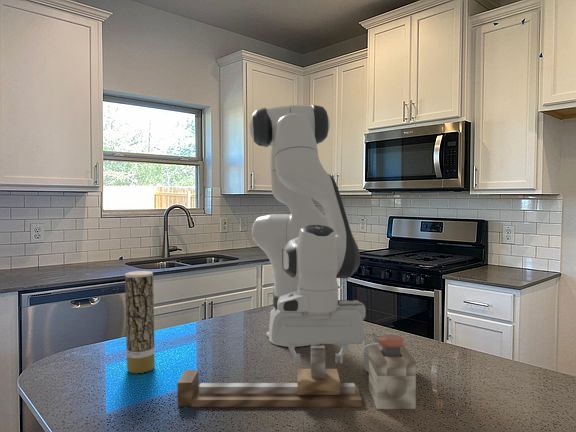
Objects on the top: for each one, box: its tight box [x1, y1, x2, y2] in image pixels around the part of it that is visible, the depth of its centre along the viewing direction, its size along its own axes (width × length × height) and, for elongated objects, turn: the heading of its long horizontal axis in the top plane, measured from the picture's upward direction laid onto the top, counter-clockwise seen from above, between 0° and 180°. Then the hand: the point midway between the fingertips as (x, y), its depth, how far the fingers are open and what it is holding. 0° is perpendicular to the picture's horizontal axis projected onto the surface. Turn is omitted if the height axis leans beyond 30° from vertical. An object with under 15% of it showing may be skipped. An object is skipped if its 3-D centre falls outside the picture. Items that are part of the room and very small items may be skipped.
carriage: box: [296, 345, 341, 395], centre depth 98 cm, size 9×7×9 cm
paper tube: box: [124, 270, 156, 374], centre depth 114 cm, size 7×7×25 cm
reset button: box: [378, 334, 405, 357], centre depth 97 cm, size 5×5×4 cm
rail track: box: [176, 345, 417, 410], centre depth 98 cm, size 50×10×10 cm, turn 89°
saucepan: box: [361, 332, 409, 373], centre depth 117 cm, size 12×20×6 cm, turn 1°
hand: (317, 362), depth 98 cm, fingers open, 8 cm apart
